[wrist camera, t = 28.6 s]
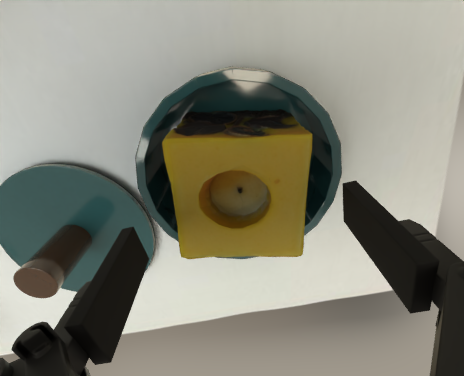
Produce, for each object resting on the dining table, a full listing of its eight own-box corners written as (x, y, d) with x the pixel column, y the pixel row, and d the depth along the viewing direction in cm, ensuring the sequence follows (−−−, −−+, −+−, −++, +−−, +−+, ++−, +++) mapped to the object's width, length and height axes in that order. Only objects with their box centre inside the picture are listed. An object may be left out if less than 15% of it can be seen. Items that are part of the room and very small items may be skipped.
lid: (51, 295, 37) (7, 354, 29) (-37, 181, 28) (-129, 223, 21) (175, 273, 35) (161, 329, 28) (119, 144, 27) (78, 176, 20)
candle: (282, 198, 29) (305, 259, 20) (194, 201, 29) (179, 263, 20) (287, 106, 25) (321, 132, 16) (183, 110, 25) (158, 139, 16)
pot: (183, 236, 32) (174, 272, 27) (127, 92, 25) (99, 101, 19) (324, 209, 31) (344, 241, 25) (311, 45, 23) (337, 41, 18)
